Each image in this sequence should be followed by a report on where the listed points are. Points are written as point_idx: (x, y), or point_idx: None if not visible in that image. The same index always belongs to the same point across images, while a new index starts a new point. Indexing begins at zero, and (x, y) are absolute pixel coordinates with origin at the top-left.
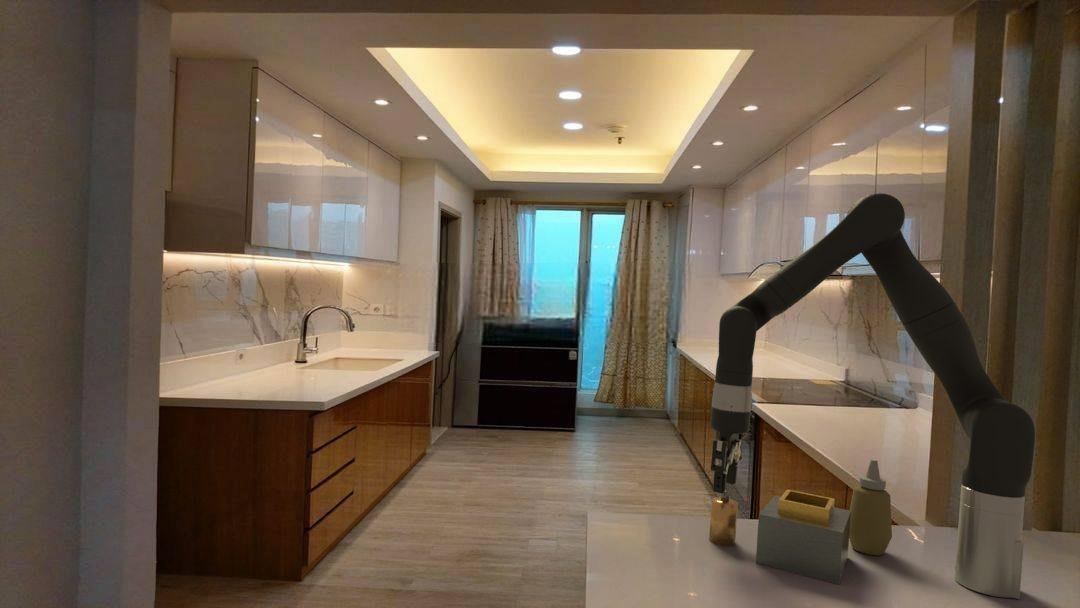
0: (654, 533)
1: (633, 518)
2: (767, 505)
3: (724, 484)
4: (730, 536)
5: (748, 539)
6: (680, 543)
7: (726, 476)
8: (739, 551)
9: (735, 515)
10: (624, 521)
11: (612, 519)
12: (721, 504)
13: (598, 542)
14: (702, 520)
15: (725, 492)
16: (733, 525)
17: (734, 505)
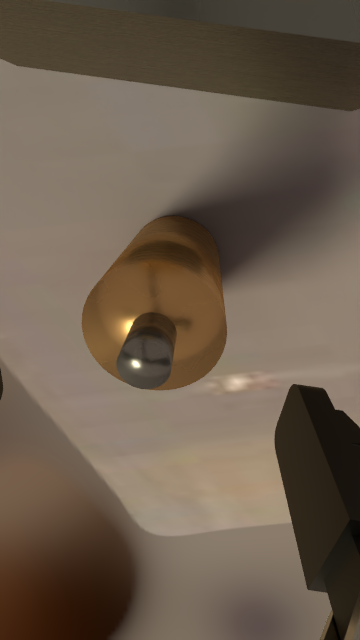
0: (224, 431)
1: (143, 480)
2: (196, 8)
3: (346, 437)
4: (207, 239)
5: (90, 170)
6: (268, 368)
7: (341, 493)
8: (246, 190)
9: (184, 250)
10: (179, 491)
11: (182, 510)
12: (225, 342)
13: None
14: (18, 339)
15: (170, 364)
16: (197, 242)
17: (197, 276)
